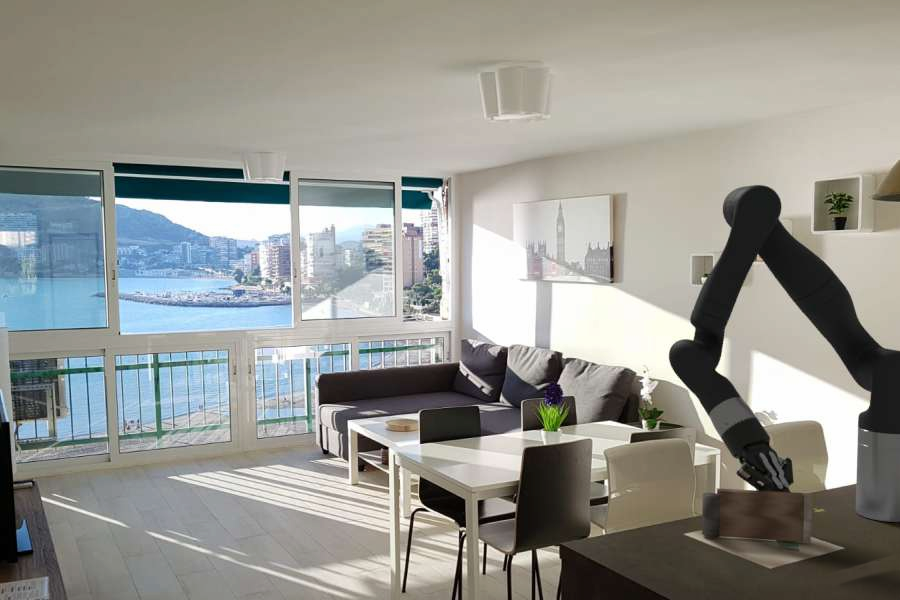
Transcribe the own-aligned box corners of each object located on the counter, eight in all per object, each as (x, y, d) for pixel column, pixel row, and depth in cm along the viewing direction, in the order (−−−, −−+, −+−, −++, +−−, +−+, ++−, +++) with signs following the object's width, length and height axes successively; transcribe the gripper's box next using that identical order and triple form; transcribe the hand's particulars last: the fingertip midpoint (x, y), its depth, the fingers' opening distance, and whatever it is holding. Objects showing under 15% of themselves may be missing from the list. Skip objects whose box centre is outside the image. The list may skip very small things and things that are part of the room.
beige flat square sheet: (755, 526, 145) (755, 517, 145) (844, 556, 130) (844, 546, 130) (683, 542, 136) (683, 532, 136) (770, 577, 120) (770, 567, 120)
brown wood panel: (806, 537, 133) (807, 492, 133) (811, 543, 130) (813, 497, 130) (700, 531, 136) (701, 486, 136) (703, 536, 133) (704, 491, 133)
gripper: (725, 418, 138) (781, 505, 128) (774, 413, 144) (831, 495, 134) (701, 441, 143) (754, 526, 133) (750, 435, 149) (803, 516, 139)
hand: (793, 510), depth 133 cm, fingers closed
